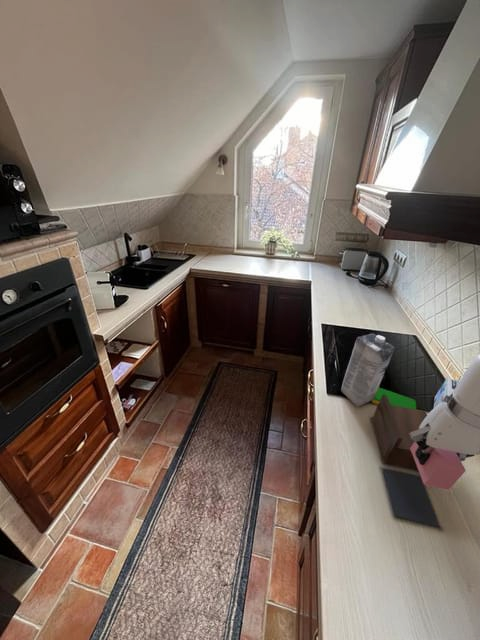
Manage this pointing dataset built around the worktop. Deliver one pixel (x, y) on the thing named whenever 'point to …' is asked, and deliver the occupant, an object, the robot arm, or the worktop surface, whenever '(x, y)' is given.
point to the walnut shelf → (396, 432)
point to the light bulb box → (445, 391)
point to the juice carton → (366, 368)
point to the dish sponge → (394, 399)
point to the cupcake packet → (439, 468)
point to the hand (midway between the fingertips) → (432, 461)
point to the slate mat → (409, 497)
